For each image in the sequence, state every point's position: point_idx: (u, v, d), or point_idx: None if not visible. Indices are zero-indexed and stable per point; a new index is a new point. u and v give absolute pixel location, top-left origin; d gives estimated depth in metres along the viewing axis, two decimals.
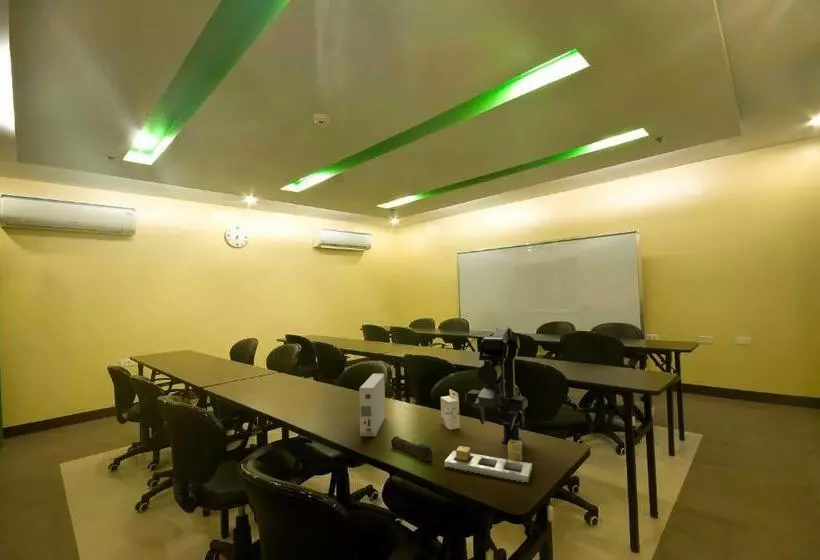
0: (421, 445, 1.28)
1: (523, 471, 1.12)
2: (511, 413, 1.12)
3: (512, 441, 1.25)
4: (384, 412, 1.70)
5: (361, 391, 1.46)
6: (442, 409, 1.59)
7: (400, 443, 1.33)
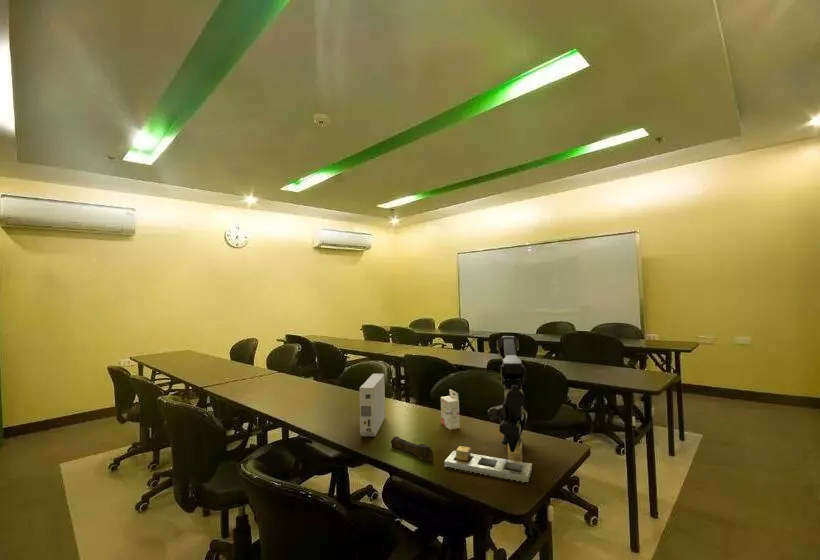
0: (421, 445, 1.28)
1: (523, 471, 1.12)
2: None
3: None
4: (384, 412, 1.70)
5: (361, 391, 1.46)
6: (442, 409, 1.59)
7: (400, 443, 1.33)
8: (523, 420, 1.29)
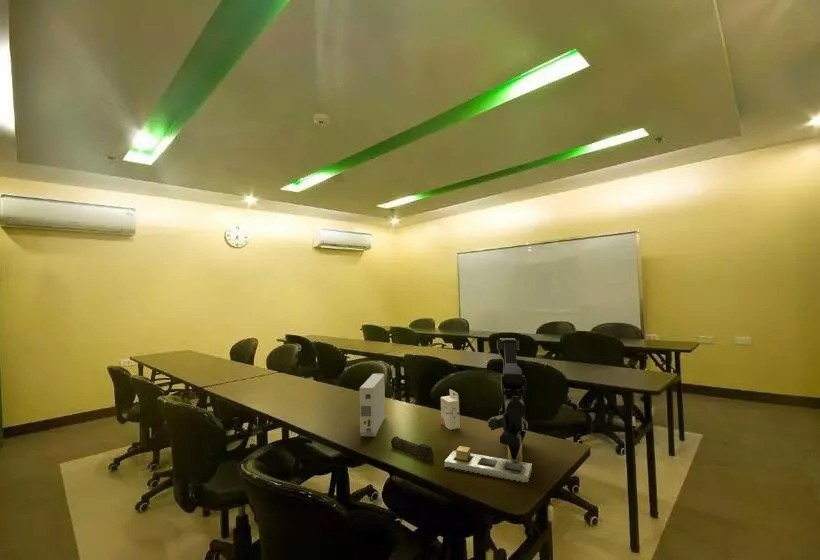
0: (422, 445, 1.28)
1: (523, 471, 1.12)
2: None
3: None
4: (384, 412, 1.70)
5: (361, 391, 1.46)
6: (442, 409, 1.59)
7: (400, 443, 1.33)
8: (522, 432, 1.27)
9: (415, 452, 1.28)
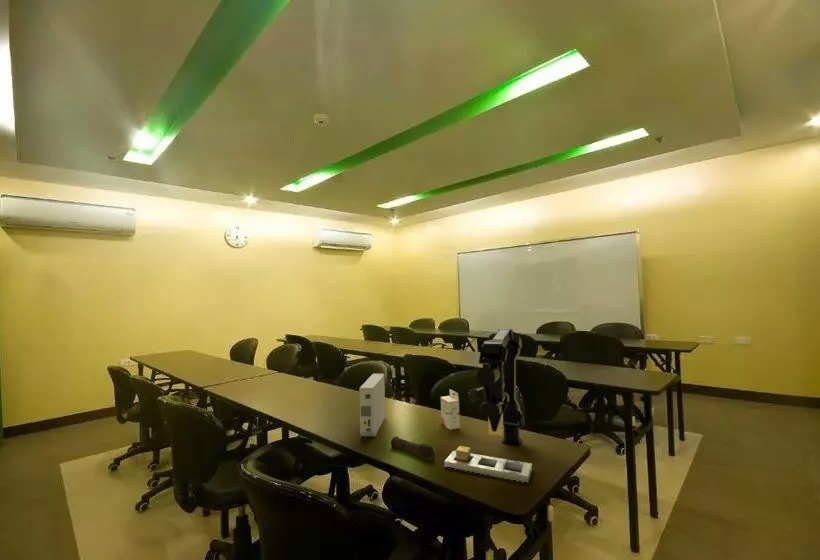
0: (422, 444, 1.28)
1: (523, 471, 1.12)
2: None
3: None
4: (384, 412, 1.70)
5: (361, 391, 1.46)
6: (442, 409, 1.59)
7: (400, 443, 1.33)
8: (503, 405, 1.23)
9: (416, 452, 1.28)
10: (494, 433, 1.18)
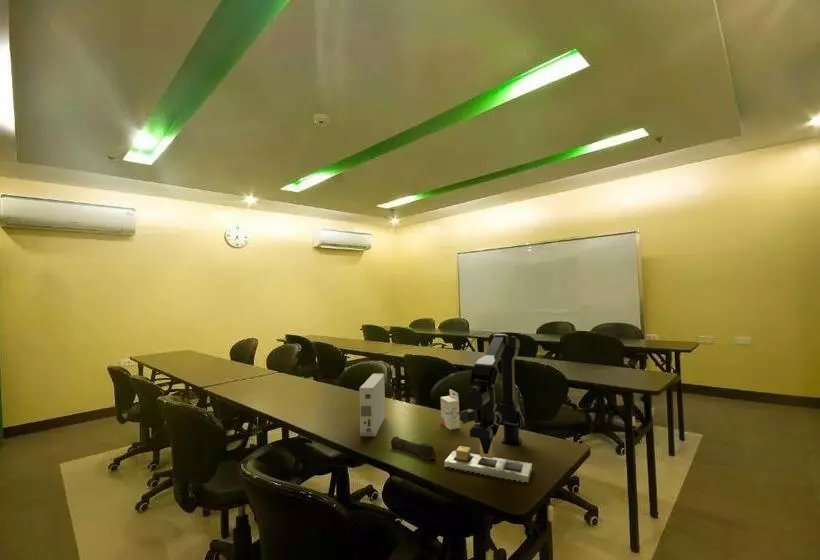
0: (423, 444, 1.28)
1: (523, 471, 1.12)
2: None
3: None
4: (384, 412, 1.70)
5: (361, 391, 1.46)
6: (442, 409, 1.59)
7: (401, 443, 1.33)
8: (496, 426, 1.21)
9: (416, 452, 1.29)
10: (485, 456, 1.17)
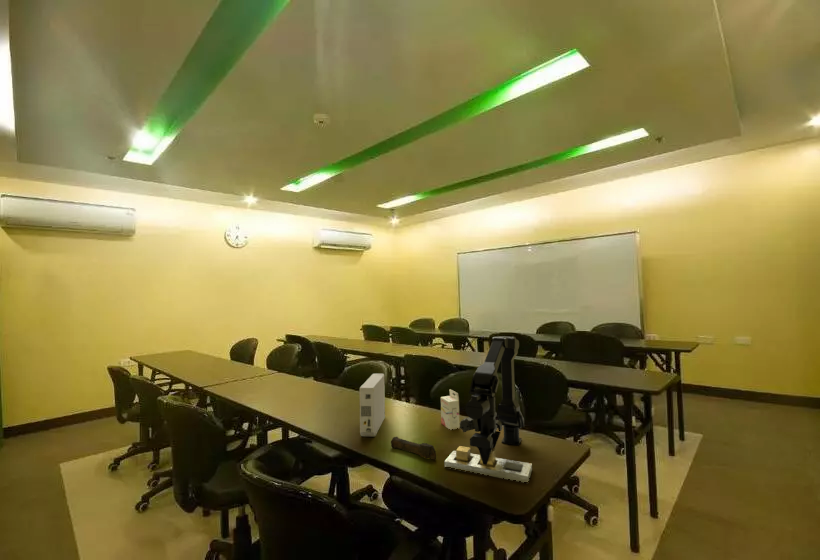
0: (424, 444, 1.28)
1: (523, 471, 1.12)
2: None
3: None
4: (384, 412, 1.70)
5: (361, 391, 1.46)
6: (442, 409, 1.59)
7: (401, 443, 1.33)
8: (497, 433, 1.22)
9: (417, 451, 1.29)
10: None
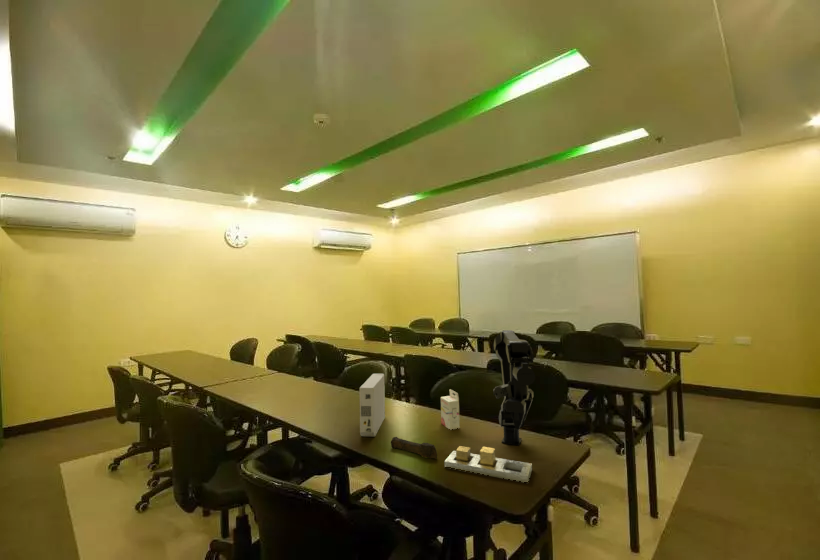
0: (424, 443, 1.29)
1: (523, 471, 1.12)
2: None
3: (485, 448, 1.19)
4: (384, 412, 1.70)
5: (361, 391, 1.46)
6: (442, 409, 1.59)
7: (401, 443, 1.33)
8: (529, 399, 1.29)
9: (417, 451, 1.29)
10: None
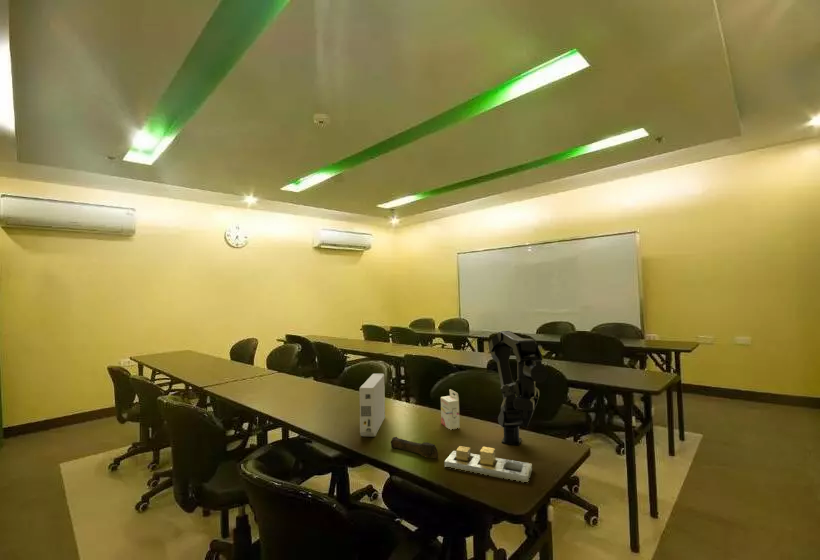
0: (425, 443, 1.29)
1: (523, 471, 1.12)
2: None
3: (485, 448, 1.19)
4: (384, 412, 1.70)
5: (361, 391, 1.46)
6: (442, 409, 1.59)
7: (401, 443, 1.33)
8: (535, 398, 1.30)
9: (418, 451, 1.29)
10: None
